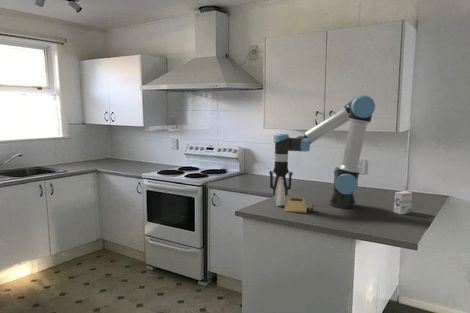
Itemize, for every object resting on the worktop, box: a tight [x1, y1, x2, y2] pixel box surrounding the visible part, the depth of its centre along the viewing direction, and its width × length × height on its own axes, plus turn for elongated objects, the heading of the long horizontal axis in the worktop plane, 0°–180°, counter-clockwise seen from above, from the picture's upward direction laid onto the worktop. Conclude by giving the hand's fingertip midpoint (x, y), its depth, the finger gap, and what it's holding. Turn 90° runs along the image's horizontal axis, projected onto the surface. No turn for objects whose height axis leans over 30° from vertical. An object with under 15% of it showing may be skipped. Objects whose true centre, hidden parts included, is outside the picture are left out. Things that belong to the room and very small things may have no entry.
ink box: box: [393, 190, 413, 215], centre depth 208 cm, size 9×5×12 cm, turn 116°
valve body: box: [284, 196, 315, 214], centre depth 208 cm, size 16×9×6 cm, turn 76°
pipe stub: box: [275, 180, 285, 207], centre depth 216 cm, size 4×4×14 cm
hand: (280, 200), depth 216 cm, fingers closed on pipe stub, 4 cm apart
